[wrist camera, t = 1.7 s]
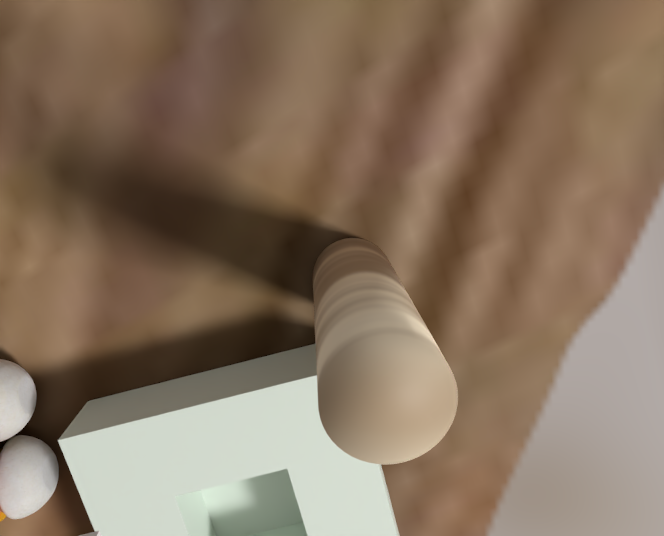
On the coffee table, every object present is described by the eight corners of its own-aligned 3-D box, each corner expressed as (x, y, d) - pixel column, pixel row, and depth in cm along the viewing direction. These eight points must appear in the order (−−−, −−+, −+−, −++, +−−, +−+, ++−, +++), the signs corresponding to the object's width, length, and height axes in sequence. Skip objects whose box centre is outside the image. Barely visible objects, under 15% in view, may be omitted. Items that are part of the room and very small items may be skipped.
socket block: (87, 401, 32) (57, 440, 28) (347, 335, 32) (352, 365, 28) (170, 615, 35) (153, 676, 32) (405, 557, 35) (417, 612, 31)
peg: (303, 248, 31) (302, 355, 17) (381, 229, 30) (442, 319, 17) (323, 322, 32) (337, 478, 18) (399, 303, 31) (469, 445, 18)
